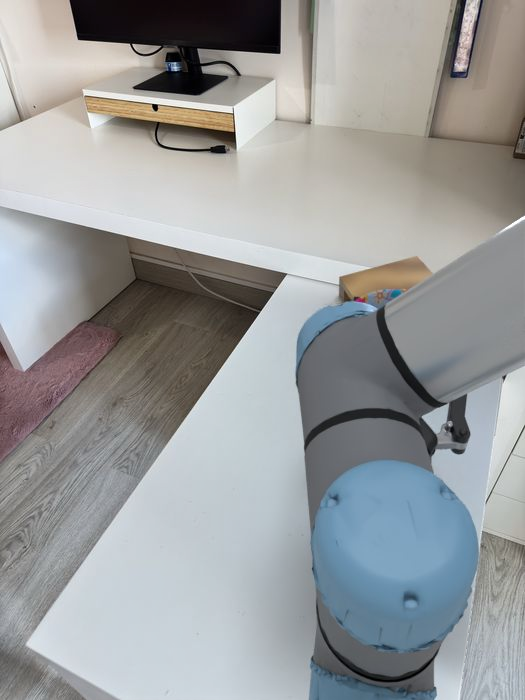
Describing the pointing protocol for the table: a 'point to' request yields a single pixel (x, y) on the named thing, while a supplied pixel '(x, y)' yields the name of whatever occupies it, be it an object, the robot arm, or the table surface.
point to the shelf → (383, 278)
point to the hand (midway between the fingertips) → (393, 308)
